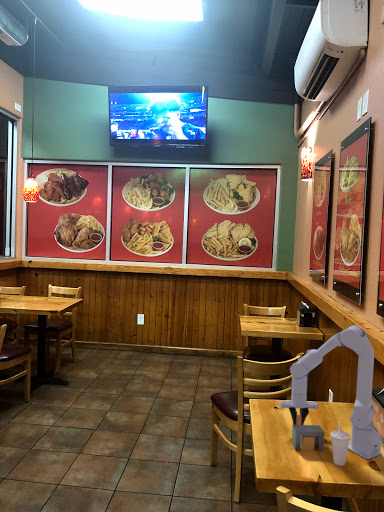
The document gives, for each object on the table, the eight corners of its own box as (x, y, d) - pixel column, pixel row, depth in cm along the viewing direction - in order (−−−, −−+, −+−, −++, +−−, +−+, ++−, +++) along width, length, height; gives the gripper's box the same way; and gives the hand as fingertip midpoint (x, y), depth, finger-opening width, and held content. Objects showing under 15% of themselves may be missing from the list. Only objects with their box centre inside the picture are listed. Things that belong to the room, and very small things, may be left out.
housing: (323, 451, 145) (324, 431, 144) (295, 450, 145) (295, 431, 144) (319, 444, 150) (319, 425, 149) (291, 443, 150) (292, 424, 149)
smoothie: (325, 459, 139) (326, 419, 138) (339, 456, 142) (341, 416, 141) (338, 469, 133) (340, 427, 133) (353, 465, 136) (355, 424, 135)
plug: (314, 449, 146) (314, 433, 145) (303, 449, 146) (303, 432, 145) (302, 429, 161) (302, 414, 161) (292, 429, 161) (292, 414, 161)
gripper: (314, 388, 164) (313, 421, 164) (278, 387, 164) (277, 421, 164) (320, 395, 157) (318, 430, 157) (282, 394, 157) (281, 429, 157)
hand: (297, 426), depth 160 cm, fingers closed on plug, 2 cm apart
